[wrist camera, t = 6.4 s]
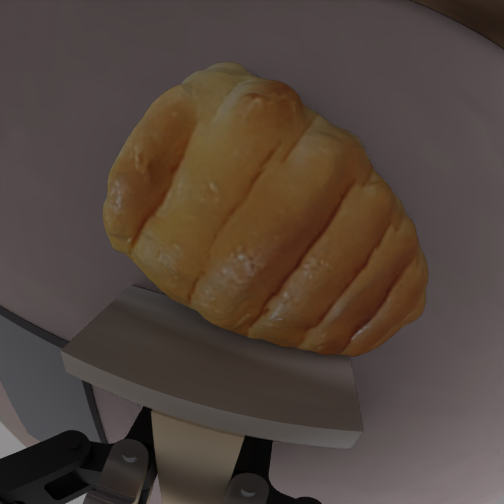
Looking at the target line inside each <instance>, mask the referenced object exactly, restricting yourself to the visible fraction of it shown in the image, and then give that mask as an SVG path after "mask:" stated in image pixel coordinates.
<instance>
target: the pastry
mask: <svg viewBox="0 0 504 504" xmlns="http://www.w3.org/2000/svg"><path fill="white" fill-rule="evenodd" d="M107 190H108V191H107V198H106V200H105V202H104V204H103V222H104V226H105V230H106V233H107V235H108V238H109V240H110V242H111V245H112V247H113V249H115V250H117V251H119V252H122V253H124V254H126V255H127V256H128V257H129V258H130V259H131V260H132V261H133V262H134V263H135V264H136V265H137V266H138V267H139V268H140V269H141V271H142V272H143V273H144V274H145V275H146V277H147V278H148V279H149V280H150V281H152V282H153V283H154V284H155V285H156V286H157V287H158V288H159V289H160V291H163V292H164V293H165V294H166V295H167V296H168V297H169V298H170V299H172V300H174V301H176V302H179V303H181V304H183V305H186V306H187V307H189V308H192V309H194V310H196V311H198V312H199V313H200V314H201V315H202V317H203V318H204V319H206V320H207V321H209V322H210V323H212V324H214V325H217V326H218V327H220V328H222V329H227V330H230V331H233V332H236V333H238V334H241V335H243V336H246V337H248V338H250V339H263V340H266V341H269V342H271V343H273V344H277V345H280V346H282V347H295V348H298V349H301V350H309V351H314V352H317V353H320V354H323V355H333V354H340V355H347V356H351V357H355V356H358V355H361V354H364V353H367V352H369V351H371V350H373V349H375V348H377V347H379V346H380V345H381V344H383V343H384V342H386V341H387V340H388V339H389V338H390V337H392V336H393V335H394V334H395V333H396V332H398V331H399V330H400V329H401V328H402V327H403V326H405V325H406V324H409V323H411V322H413V321H414V320H416V319H417V318H418V317H420V316H421V314H422V313H423V310H424V308H425V302H426V285H427V283H428V266H427V261H426V258H425V255H424V253H423V252H422V250H421V248H420V245H419V243H418V238H417V234H416V228H415V225H414V223H413V222H412V220H411V219H410V218H409V217H408V216H407V215H406V213H405V209H404V207H403V205H402V203H401V201H400V200H399V199H398V198H397V196H396V195H395V194H394V193H393V192H392V190H391V188H390V187H389V186H388V184H387V183H386V182H385V181H384V180H383V179H382V178H381V177H380V176H379V175H378V174H377V173H376V171H375V170H374V168H373V166H372V164H371V162H370V160H369V158H368V157H367V154H366V152H365V150H364V148H363V146H362V144H361V142H360V140H359V138H358V137H357V136H355V135H354V134H352V133H350V132H349V131H347V130H345V129H342V128H339V127H336V126H334V125H332V124H331V123H329V122H328V121H327V120H326V119H325V118H323V117H322V116H320V115H319V114H317V113H316V112H314V111H313V110H311V109H310V108H308V107H307V106H305V105H303V104H302V102H301V99H300V97H299V95H298V94H297V93H296V92H295V91H294V90H293V89H292V88H290V87H289V86H288V85H286V84H284V83H282V82H280V81H273V80H267V79H262V78H259V77H257V76H255V75H252V74H250V73H249V72H248V71H247V70H246V69H245V68H244V67H243V66H242V65H240V64H238V63H234V62H222V63H216V64H214V65H212V66H210V67H208V68H207V69H205V70H200V71H196V72H194V73H192V74H191V75H190V76H188V77H187V78H186V79H185V80H184V81H183V82H182V84H180V85H177V86H175V87H173V88H171V89H169V90H167V91H166V92H165V93H163V94H162V95H161V96H160V97H158V98H157V99H156V100H155V101H154V102H153V103H152V104H151V106H150V108H149V109H148V110H147V111H146V113H145V114H144V116H143V118H142V119H141V120H140V121H139V122H138V124H137V125H136V126H135V128H134V129H133V131H132V132H131V134H130V136H129V137H128V139H127V140H126V142H125V144H124V145H123V147H122V149H121V151H120V153H119V155H118V157H117V158H116V160H115V162H114V164H113V166H112V167H111V170H110V172H109V175H108V182H107Z"/></svg>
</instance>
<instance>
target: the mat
mask: <svg viewBox="0 0 504 504" xmlns="http://www.w3.org/2000/svg"><path fill="white" fill-rule="evenodd" d="M68 343H69V342H67V341H64V340H62V339H60V338H58V337H56V336H54V335H52V334H50V333H48V332H46V331H44V330H42V329H40V328H38V327H36V326H34V325H33V324H31V323H29V322H27V321H25V320H23V319H21V318H20V317H18V316H16V315H14V314H13V313H11V312H9V311H7V310H6V309H4V308H2V307H1V306H0V380H1V382H2V384H3V387H4V389H5V391H6V393H7V395H8V397H9V399H10V401H11V403H12V405H13V407H14V409H15V411H16V413H17V415H18V416H19V418H20V420H21V422H22V424H23V425H24V427H25V429H26V430H27V432H28V433H29V434H30V435H32V436H33V437H35V438H36V439H38V440H39V441H41V442H42V441H44V440H47V439H49V438H51V437H53V436H56V435H58V434H60V433H62V432H64V431H67V430H77V431H80V432H82V433H84V434H85V435H86V436H87V437H88V439H89V441H93V442H99V443H106V444H107V441H106V438H105V435H104V432H103V429H102V426H101V423H100V419H99V416H98V413H97V409H96V406H95V402H94V398H93V394H92V390H91V386H90V383H88V382H86V381H84V380H82V379H80V378H77V377H75V376H73V375H71V374H69V373H68V372H66V370H65V367H64V363H63V359H62V355H61V350H62V349H63V348H64V347H65V346H66V345H67V344H68Z"/></svg>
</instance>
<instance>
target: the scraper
mask: <svg viewBox="0 0 504 504" xmlns="http://www.w3.org/2000/svg"><path fill="white" fill-rule="evenodd" d="M61 355H62V359H63V363H64V367H65V370H66V372H68V373H69V374H71V375H73V376H75V377H77V378H80V379H82V380H84V381H86V382H88V383H90V384H92V385H94V386H96V387H99V388H101V389H103V390H105V391H108V392H110V393H112V394H115V395H117V396H120V397H122V398H125V399H127V400H130V401H132V402H135V403H137V404H140V405H143V406H145V407H148V408H151V409H152V411H151V417H152V428H153V438H154V447H155V456H156V464H157V471H158V478H159V485H160V491H161V497H162V503H163V504H222V501H223V499H224V495H225V492H226V489H227V487H228V484H229V482H230V479H231V476H232V473H233V470H234V467H235V464H236V461H237V458H238V455H239V452H240V449H241V446H242V443H243V440H244V437H245V435H247V436H252V437H257V438H263V439H268V440H274V441H280V442H287V443H294V444H301V445H310V446H319V447H330V448H343V449H351V448H352V447H353V446H354V444H355V443H356V442H357V440H358V439H359V438H360V436H361V435H362V433H363V432H364V431H363V425H362V419H361V413H360V407H359V402H358V396H357V391H356V386H355V380H354V375H353V370H352V366H351V361H350V356H347V355H340V354H333V355H323V354H320V353H317V352H314V351H309V350H301V349H298V348H295V347H282V346H280V345H277V344H273V343H271V342H269V341H266V340H263V339H250V338H248V337H246V336H243V335H241V334H238V333H236V332H233V331H230V330H227V329H222V328H220V327H218V326H217V325H214V324H212V323H210V322H209V321H207V320H206V319H204V318H203V317H202V315H201V314H200V313H199V312H198V311H196V310H194V309H192V308H189V307H187V306H186V305H183V304H181V303H179V302H176V301H174V300H172V299H170V298H169V297H168V296H167V295H164V294H160V293H157V292H153V291H150V290H146V289H143V288H139V287H136V286H132V285H131V286H130V287H129V288H128V289H127V290H125V291H124V292H123V293H122V294H121V295H120V296H119V297H118V298H116V299H115V300H114V301H113V302H112V303H111V304H110V305H109V306H108V307H107V308H105V309H104V310H103V311H102V312H101V313H100V314H99V315H98V316H97V317H96V318H95V319H93V320H92V321H91V322H90V323H89V324H88V325H87V326H86V327H85V328H84V329H83V330H82V331H81V332H80V333H79V334H77V335H76V336H75V337H74V338H73V339H72V340H71V341H70V342H69V343H68V344H67V345H66V346H65V347H64V348H63V349H62V350H61Z"/></svg>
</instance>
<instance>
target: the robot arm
mask: <svg viewBox="0 0 504 504" xmlns="http://www.w3.org/2000/svg"><path fill="white" fill-rule="evenodd" d="M151 411H152V409H151V408H148V407H145V406H143V408H142V410H141V412H140V413H139V415H138V417H137V419H136V420H135V422H134V424H133V426H132V427H131V429H130V431H129V433H128V435H127V436H126V437H125V438H124V439H123V440H120V441H118V442H116V443H113V444H106V443H99V442H93V441H89V439H88V437H87V436H86V435H85V434H84V433H82V432H80V431H77V430H67V431H64V432H62V433H60V434H58V435H56V436H53V437H51V438H49V439H47V440H44V441H42V442H40V443H38V444H35V445H33V446H31V447H28V448H26V449H23V450H21V451H19V452H16V453H14V454H11V455H9V456H7V457H4V458H1V459H0V504H65V503H67V502H69V501H71V500H73V499H75V498H77V497H79V496H81V495H83V494H85V493H87V492H88V493H87V495H86V497H85V499H84V502H83V504H149V500H150V496H151V492H152V489H153V483H154V481H155V478H156V476H157V474H158V471H157V464H156V456H155V447H154V438H153V428H152V417H151ZM272 442H273V440H268V439H263V438H257V437H252V436H247V435H245V437H244V440H243V443H242V446H241V449H240V452H239V455H238V458H237V461H236V464H235V467H234V470H233V473H232V476H231V479H230V482H229V484H228V487H227V489H226V492H225V495H224V499H223V501H222V504H322V503H321V502H320V501H318V500H316V499H314V498H311V497H300V498H297V499H295V498H292V497H290V496H287V495H285V494H283V493H280V492H279V491H277V490H276V489H275V488H274V487H273V486H272V485H271V483H270V481H269V466H270V459H271V450H272Z"/></svg>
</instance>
